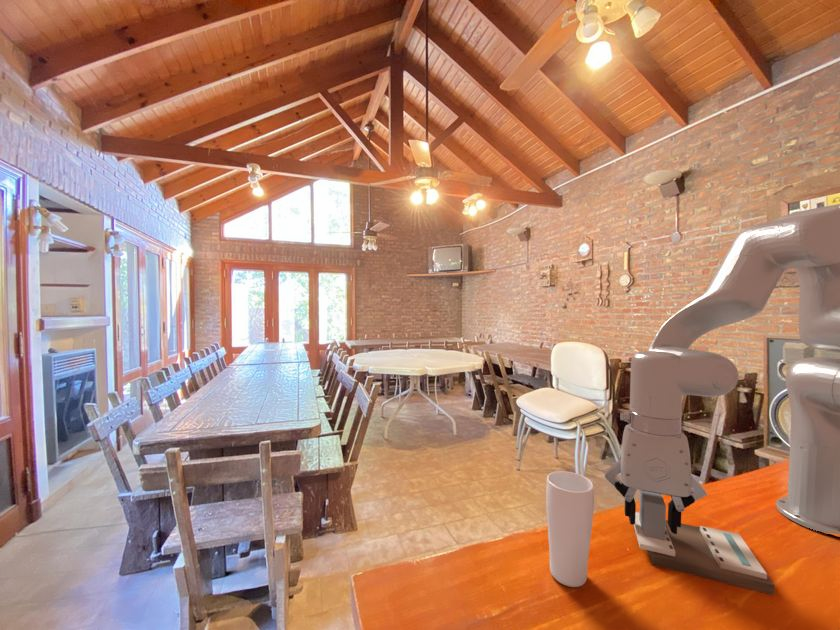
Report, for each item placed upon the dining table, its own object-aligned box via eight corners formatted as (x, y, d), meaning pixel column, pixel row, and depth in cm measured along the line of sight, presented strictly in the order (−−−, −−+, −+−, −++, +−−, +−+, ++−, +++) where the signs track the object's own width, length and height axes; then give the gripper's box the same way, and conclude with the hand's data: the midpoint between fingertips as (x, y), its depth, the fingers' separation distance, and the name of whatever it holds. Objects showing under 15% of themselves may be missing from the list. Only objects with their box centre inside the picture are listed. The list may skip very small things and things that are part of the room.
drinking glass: (570, 556, 60) (572, 467, 59) (602, 587, 53) (604, 488, 53) (535, 565, 58) (537, 473, 57) (564, 598, 51) (566, 496, 51)
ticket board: (640, 522, 69) (640, 510, 69) (739, 543, 63) (740, 530, 63) (652, 564, 58) (652, 550, 58) (774, 595, 52) (775, 579, 52)
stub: (631, 515, 69) (632, 480, 68) (661, 521, 67) (662, 485, 66) (639, 548, 59) (640, 508, 59) (675, 556, 57) (676, 515, 57)
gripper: (600, 422, 62) (598, 524, 63) (724, 438, 55) (720, 552, 56) (598, 410, 69) (596, 502, 70) (708, 423, 62) (704, 524, 63)
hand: (651, 523), depth 63 cm, fingers open, 5 cm apart
